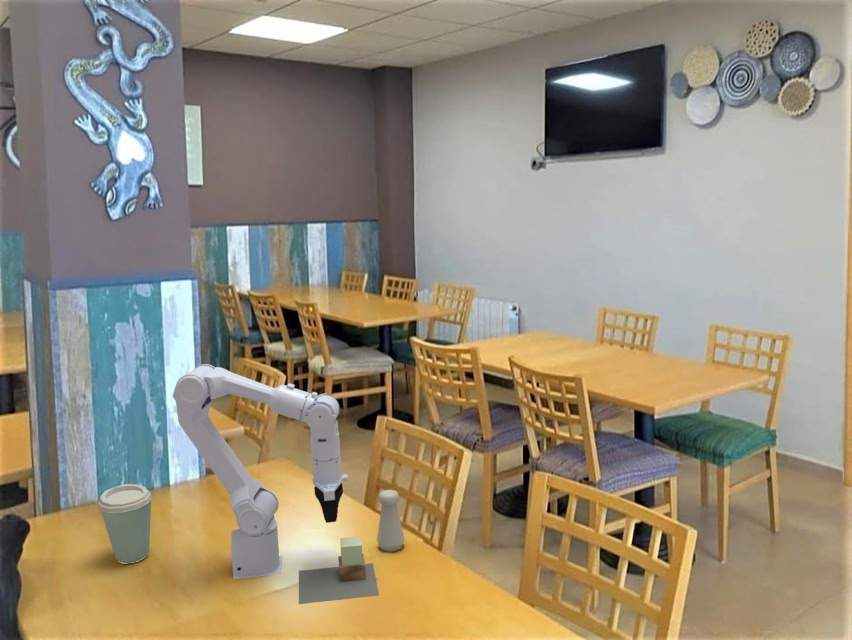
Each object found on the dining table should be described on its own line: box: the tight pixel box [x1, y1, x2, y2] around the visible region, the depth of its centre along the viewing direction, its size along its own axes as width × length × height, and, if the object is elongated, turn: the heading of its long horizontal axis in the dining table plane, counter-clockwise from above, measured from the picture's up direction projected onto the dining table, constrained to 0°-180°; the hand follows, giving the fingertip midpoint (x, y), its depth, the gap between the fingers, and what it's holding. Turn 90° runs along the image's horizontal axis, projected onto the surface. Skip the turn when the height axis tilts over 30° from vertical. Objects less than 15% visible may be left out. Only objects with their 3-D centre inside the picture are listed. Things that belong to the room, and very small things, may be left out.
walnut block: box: [337, 553, 366, 582], centre depth 154 cm, size 5×5×3 cm
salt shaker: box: [376, 489, 405, 553], centre depth 165 cm, size 6×6×13 cm
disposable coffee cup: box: [97, 483, 153, 563], centre depth 164 cm, size 11×11×15 cm
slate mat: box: [298, 562, 380, 605], centre depth 151 cm, size 15×13×1 cm
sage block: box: [339, 536, 363, 566], centre depth 153 cm, size 4×4×4 cm
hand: (330, 520), depth 156 cm, fingers closed
